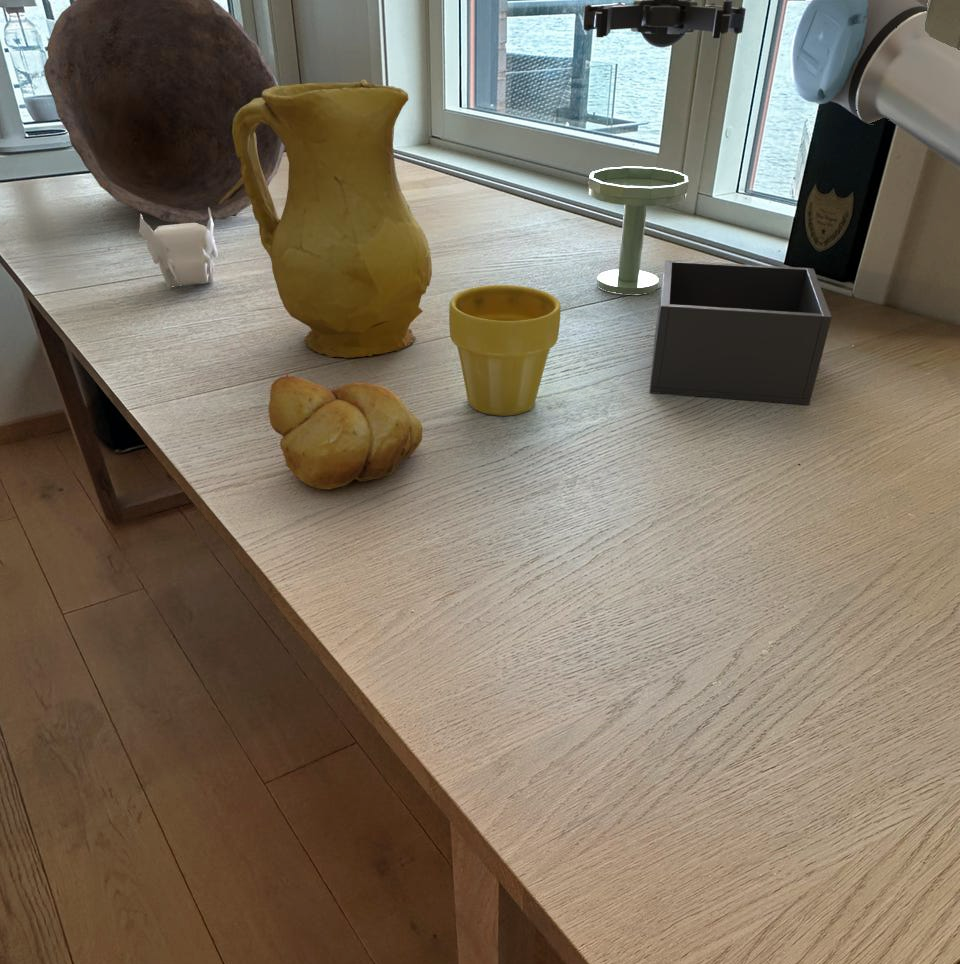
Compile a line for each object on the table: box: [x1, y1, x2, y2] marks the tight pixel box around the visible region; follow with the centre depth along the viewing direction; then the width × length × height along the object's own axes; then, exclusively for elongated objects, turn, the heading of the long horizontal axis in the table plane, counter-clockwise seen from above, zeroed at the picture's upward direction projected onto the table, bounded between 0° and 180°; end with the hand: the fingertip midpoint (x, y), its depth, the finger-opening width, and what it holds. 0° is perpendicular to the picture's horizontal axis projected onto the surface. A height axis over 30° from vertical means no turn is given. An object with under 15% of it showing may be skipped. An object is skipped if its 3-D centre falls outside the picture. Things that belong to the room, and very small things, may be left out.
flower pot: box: [448, 284, 562, 417], centre depth 82 cm, size 10×10×10 cm
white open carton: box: [138, 207, 219, 288], centre depth 111 cm, size 10×12×9 cm
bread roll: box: [267, 374, 423, 490], centre depth 71 cm, size 13×10×8 cm
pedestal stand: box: [588, 166, 689, 294], centre depth 110 cm, size 12×12×13 cm
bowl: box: [43, 0, 285, 224], centre depth 142 cm, size 34×35×30 cm
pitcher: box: [232, 79, 433, 359], centre depth 91 cm, size 17×19×25 cm
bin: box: [649, 259, 833, 406], centre depth 89 cm, size 16×16×9 cm
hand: (660, 23), depth 103 cm, fingers open, 13 cm apart
